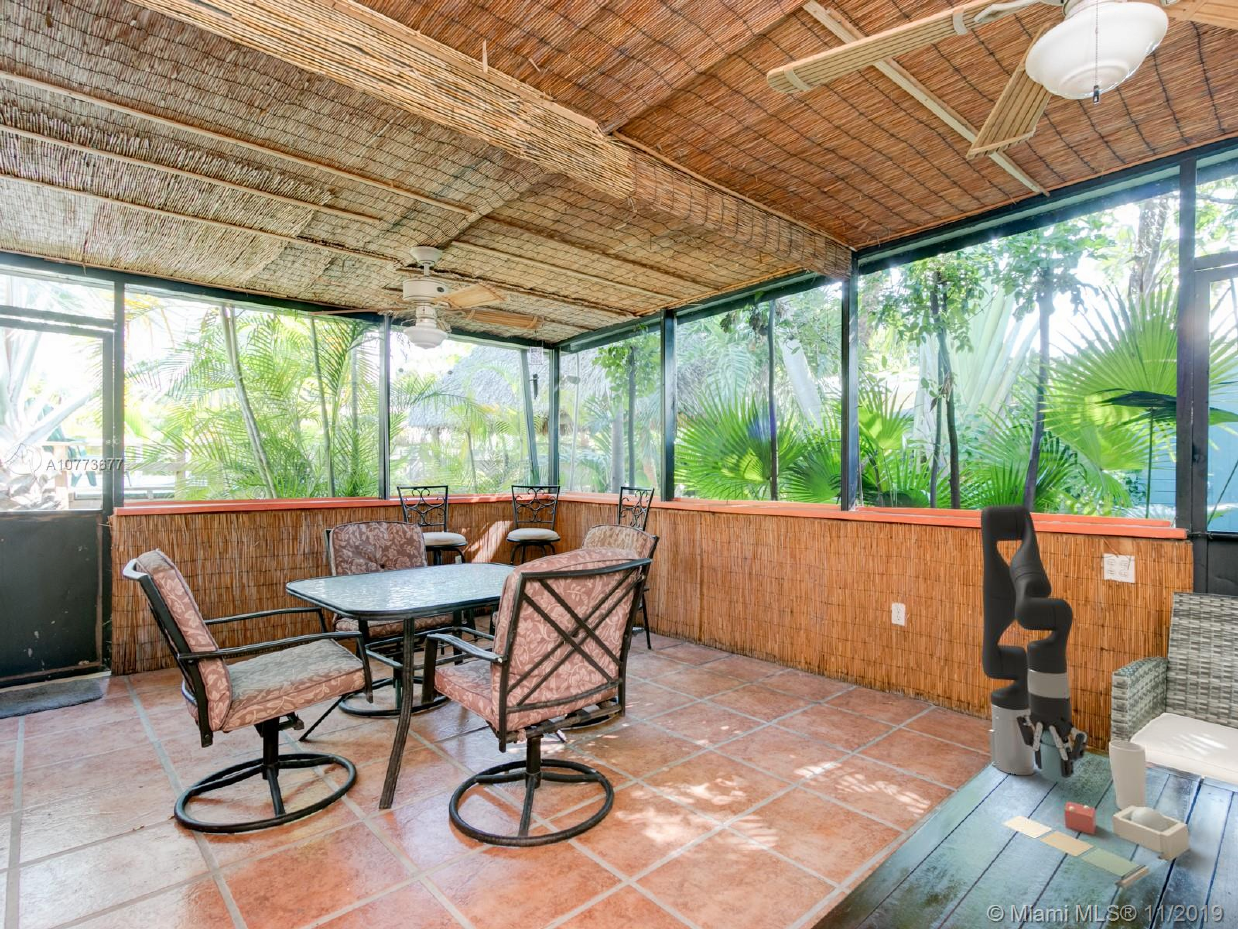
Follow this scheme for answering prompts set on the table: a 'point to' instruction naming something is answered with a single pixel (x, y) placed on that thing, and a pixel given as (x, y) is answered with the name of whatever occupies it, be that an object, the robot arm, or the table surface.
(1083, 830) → the red die
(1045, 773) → the slate blue cylinder
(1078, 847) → the game board
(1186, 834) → the dome collar
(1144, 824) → the pale grey egg
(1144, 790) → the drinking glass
